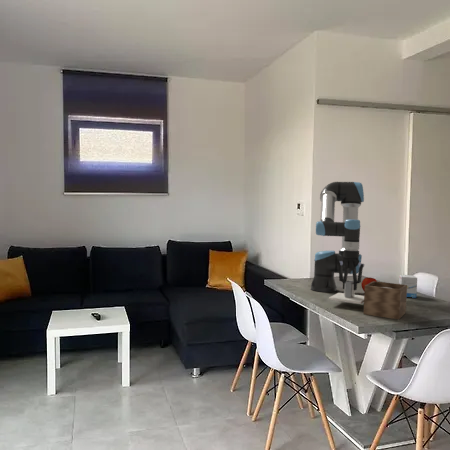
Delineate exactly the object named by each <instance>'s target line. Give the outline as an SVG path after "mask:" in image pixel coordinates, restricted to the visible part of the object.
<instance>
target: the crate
mask: <svg viewBox="0 0 450 450" xmlns="http://www.w3.org/2000/svg"><path fill="white" fill-rule="evenodd" d="M376 281H377V280H376ZM376 281H373V282H371V283H369V284H367V285H365V292H364V291H363V293H364V295H363V296H364V302H363V315H367V316H374V317H379V318H380V317H381V318H387V319H393V320H400V319H401V318H403V316H404V315H405V314H406V312H407V285H403V284H399V283H392V282H383V281H377V282H376ZM383 287H388V288H383ZM392 288H393V289H392Z"/></svg>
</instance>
